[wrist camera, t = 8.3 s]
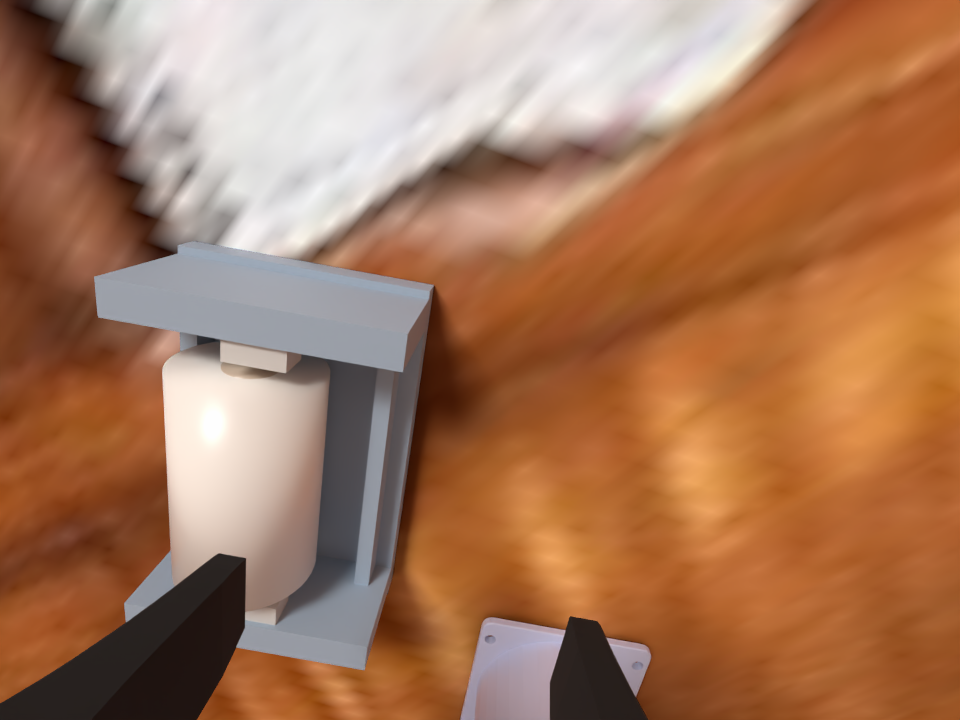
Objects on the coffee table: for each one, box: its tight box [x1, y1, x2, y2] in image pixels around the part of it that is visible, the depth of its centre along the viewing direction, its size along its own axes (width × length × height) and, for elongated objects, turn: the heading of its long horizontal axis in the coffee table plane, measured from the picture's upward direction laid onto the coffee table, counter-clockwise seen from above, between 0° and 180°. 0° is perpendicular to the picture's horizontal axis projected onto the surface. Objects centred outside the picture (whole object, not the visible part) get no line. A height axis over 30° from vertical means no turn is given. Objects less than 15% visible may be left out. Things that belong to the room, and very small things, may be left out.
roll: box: [162, 341, 330, 612], centre depth 19 cm, size 8×5×5 cm, turn 170°
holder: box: [94, 241, 434, 670], centre depth 20 cm, size 14×9×5 cm, turn 170°
